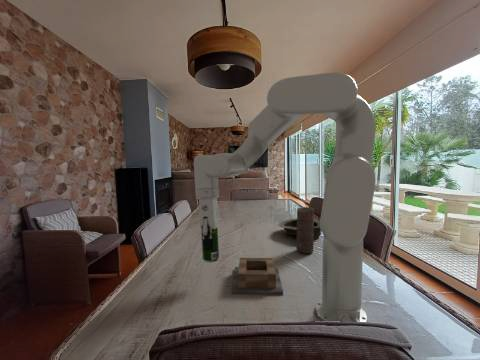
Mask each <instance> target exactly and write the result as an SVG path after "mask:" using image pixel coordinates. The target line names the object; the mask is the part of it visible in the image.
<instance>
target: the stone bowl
mask: <svg viewBox="0 0 480 360" xmlns="http://www.w3.org/2000/svg"><path fill="white" fill-rule="evenodd" d="M320 219H321V217H316V218H314V232H313V233H314V236H313V240H316V239H318V238H320V236H321V234H322V231H321V227H320ZM277 226H278V227H280V228H283V230H284V232H285V234H288V235H292V236H297V218H291V219H285V220H283V221H281V222H279V223H277Z"/></svg>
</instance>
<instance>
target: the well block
mask: <svg viewBox="0 0 480 360" xmlns="http://www.w3.org/2000/svg"><path fill="white" fill-rule="evenodd" d="M233 271H234V272H233V280H232V283H231V284H232V286H231V295H270V296H271V295H274V296H275V295H276V296H277V295H279V296H282V295H284V289H283V285H282V281H281V276H280V273H279V269H278V267H277V266H275V264H274V258H273V257H239V262H238V266H235V267H234V270H233Z"/></svg>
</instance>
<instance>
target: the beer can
mask: <svg viewBox="0 0 480 360" xmlns="http://www.w3.org/2000/svg"><path fill="white" fill-rule="evenodd" d="M202 226H203V225H202ZM208 229H210V227H208ZM200 230H201V229H200ZM208 232H209V233H210V231H208ZM200 233H201V249H202V252H201V253H202V259H203V262H205V263H209V264H210V263H211V264H212V263H215V262H217V261H218V260H219V259H220V250H219V249H220V248H219V234H218V226H217V227H216V229H215V230H213V229H212V238H213V246H214V250H213V251H204V250H203V230H201V231H200Z"/></svg>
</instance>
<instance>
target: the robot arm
mask: <svg viewBox="0 0 480 360" xmlns="http://www.w3.org/2000/svg"><path fill="white" fill-rule="evenodd" d="M358 93H359V92H358V86H357V82H356V81H355V79H354V78H353V77H352V76H350V75H348V74H346V73H345V72H337V71H336V72H324V73H317V74H310V75H309V74H307V75H299V76H292V77H285V78H282V79H280V80H278V81H275V83H273V84H272V85H271V87H270V88H269V90H268V92H267V96H266V103H267V105H266V106H265V107H264V108H263V109H262V110H261V111H259V113H258V114H257V115H256V116H255V117H254V118H253V119H252V120H251V121H250V122H249V123H248V127H247V128H248V130H247V131H248V134H247V137H246V139H245V140H244V141H243V143H242V144H241V145H240V146H238V147H237V149H236V150H235V151H234V152H231V153H230V152H227V153H226V152H223V153H216V154H205V155H204V154H203V155H196V156H195V157H194V159H193V169H194V170H193V171H194V186H195V188H194V189H195V190H194V191H195V199H197V200H198V219H199V228H200V230H203V250H204V251H213V250H214V246H213V238H212V229H213V230H215V229H216V227H217V228H218V226H219V223H220V216H219V205H218V198H219V197H220V189H219V188H220V187H219V179H227V178H231V177H237V176H240V175H242V174H244V173H245V172H246V171H247V170H249V168H251V167H252V166H253V165H254V164H255V163H256V162H257V161H259V159H260V158H261V157H262V155H263V154H264V153H265V152H266V150H267V149H268V147H269V146H270V145H271V144H272V143H273V142H274V141H276V140H277V139H278V138H279V137H280V136H281V135H282V134H283V133H284V132H285V131H286V130H288V129H289V128H290V127H291V126H292V125H293V124H294V123H296V121H298V119H300V118H301V117H302V115H310V114H311V115H313V114H323V115H324V116H325V117H327V118H329V119H330V120H333V122H334V123H335V124H336V128H337V130H336V131H337V132H336V137H335V139H336V140H335V147H334V152H333V159H332V163H331V164H330V165H329V168H328V170H327V173H326V179H325V184H324V185H325V186H324V193H323V198H322V199H323V200H322V206H321V214H320V218H321V219H320V229H321V234H322V235H323V236H322V264H321V265H322V268H321V269H322V272H321V273H322V274H321V278H322V279H321V299H319V300H318V301H317V303H316V304H315V312H316V315H317V317H318V318H319V320H321V321H322V322H323V321H340V322H367V323H368V315H367V313H366V311H365V310H364V309H363V308H362V288H363V287H362V286H363V263H364V259H363V258H364V238H365V236H366V234H367V231H368V226H369V222H370V217H371V211H372V206H373V200H374V195H375V189H376V188H375V187H376V173H375V170H374V167H373V165H372V162H373V154H374V148H375V139H376V130H377V128H376V126H377V121H376V116H375V113H374V111H373V110H372V108H371V106H370V104H369V103H368V102H367V101H366V100H365V99H364V98H362V97H361V96H360V95H358ZM202 225H203V226H202ZM208 227H210V229H208ZM208 231H210V233H209V232H208Z"/></svg>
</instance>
